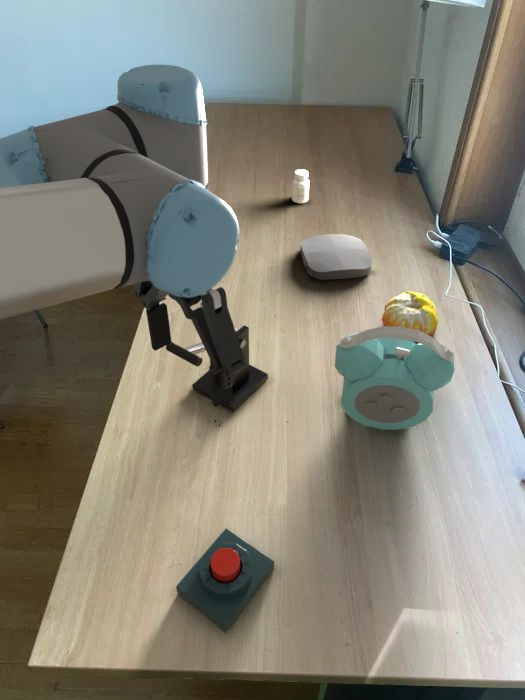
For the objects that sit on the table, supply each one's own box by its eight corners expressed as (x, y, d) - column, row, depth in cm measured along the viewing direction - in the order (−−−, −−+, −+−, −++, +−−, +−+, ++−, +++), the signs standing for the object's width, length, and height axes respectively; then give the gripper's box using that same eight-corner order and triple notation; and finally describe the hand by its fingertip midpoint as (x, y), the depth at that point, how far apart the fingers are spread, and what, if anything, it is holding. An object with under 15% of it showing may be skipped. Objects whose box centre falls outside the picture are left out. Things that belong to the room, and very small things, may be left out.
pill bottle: (311, 200, 149) (313, 172, 144) (300, 205, 147) (301, 177, 142) (299, 194, 152) (301, 166, 146) (288, 199, 149) (289, 171, 144)
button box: (226, 633, 68) (225, 619, 65) (177, 594, 71) (174, 579, 69) (274, 569, 74) (275, 554, 71) (226, 536, 77) (225, 520, 75)
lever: (194, 370, 81) (197, 356, 80) (164, 354, 84) (166, 339, 83) (246, 348, 92) (249, 335, 91) (218, 334, 94) (220, 321, 93)
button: (227, 588, 68) (227, 581, 67) (205, 571, 70) (204, 564, 69) (245, 565, 70) (245, 558, 69) (223, 549, 72) (223, 542, 71)
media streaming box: (375, 277, 123) (377, 266, 121) (309, 282, 122) (310, 271, 120) (357, 242, 134) (359, 231, 132) (297, 246, 132) (297, 235, 130)
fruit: (375, 307, 115) (393, 276, 109) (422, 321, 116) (441, 291, 111) (379, 342, 106) (399, 310, 101) (429, 357, 108) (451, 326, 103)
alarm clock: (432, 401, 96) (461, 309, 83) (435, 445, 89) (467, 352, 76) (331, 388, 98) (342, 296, 85) (325, 430, 91) (337, 337, 78)
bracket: (233, 412, 94) (230, 356, 85) (192, 389, 98) (186, 333, 89) (268, 378, 100) (269, 323, 91) (228, 358, 104) (225, 302, 95)
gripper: (280, 266, 54) (275, 412, 69) (143, 177, 68) (162, 314, 83) (219, 296, 51) (226, 444, 65) (86, 196, 65) (116, 336, 79)
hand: (190, 372), depth 74 cm, fingers open, 13 cm apart
